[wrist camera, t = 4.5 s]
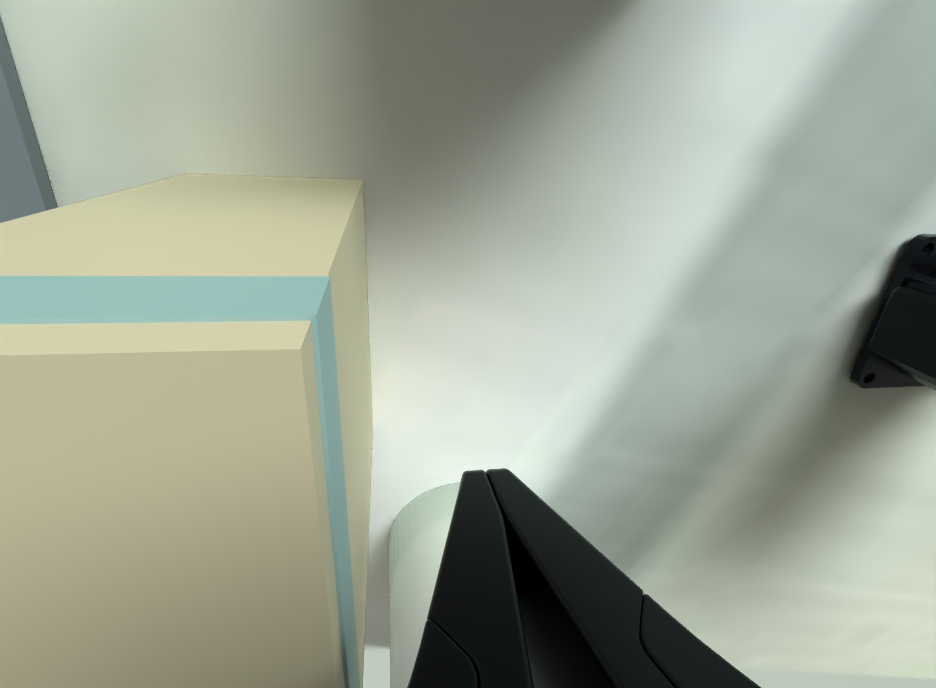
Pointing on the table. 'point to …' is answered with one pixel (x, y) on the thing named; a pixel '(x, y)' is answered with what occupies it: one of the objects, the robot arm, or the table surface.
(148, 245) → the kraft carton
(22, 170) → the mat
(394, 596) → the white rounded cylinder
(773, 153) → the table surface
